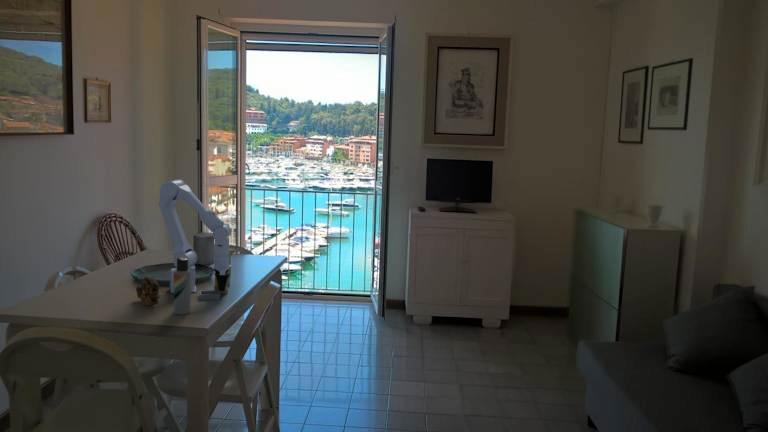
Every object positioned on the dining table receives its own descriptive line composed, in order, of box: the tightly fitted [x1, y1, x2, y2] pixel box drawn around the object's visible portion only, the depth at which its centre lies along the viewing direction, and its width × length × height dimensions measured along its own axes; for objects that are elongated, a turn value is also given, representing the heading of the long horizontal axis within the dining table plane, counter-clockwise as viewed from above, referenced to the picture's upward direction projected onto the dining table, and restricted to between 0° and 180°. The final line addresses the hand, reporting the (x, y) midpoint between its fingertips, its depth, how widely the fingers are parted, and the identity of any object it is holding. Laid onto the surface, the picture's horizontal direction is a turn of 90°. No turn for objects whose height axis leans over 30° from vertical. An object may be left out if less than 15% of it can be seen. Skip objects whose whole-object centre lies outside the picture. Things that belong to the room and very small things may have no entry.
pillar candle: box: [192, 231, 215, 266], centre depth 290 cm, size 10×10×15 cm
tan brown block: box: [213, 277, 229, 295], centre depth 243 cm, size 5×3×6 cm, turn 108°
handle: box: [227, 247, 235, 286], centre depth 254 cm, size 5×6×15 cm
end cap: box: [199, 290, 221, 301], centre depth 236 cm, size 8×6×2 cm
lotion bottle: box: [173, 257, 192, 316], centre depth 215 cm, size 6×6×20 cm
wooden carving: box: [135, 276, 161, 306], centre depth 222 cm, size 16×5×10 cm, turn 47°
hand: (221, 288), depth 243 cm, fingers open, 7 cm apart
